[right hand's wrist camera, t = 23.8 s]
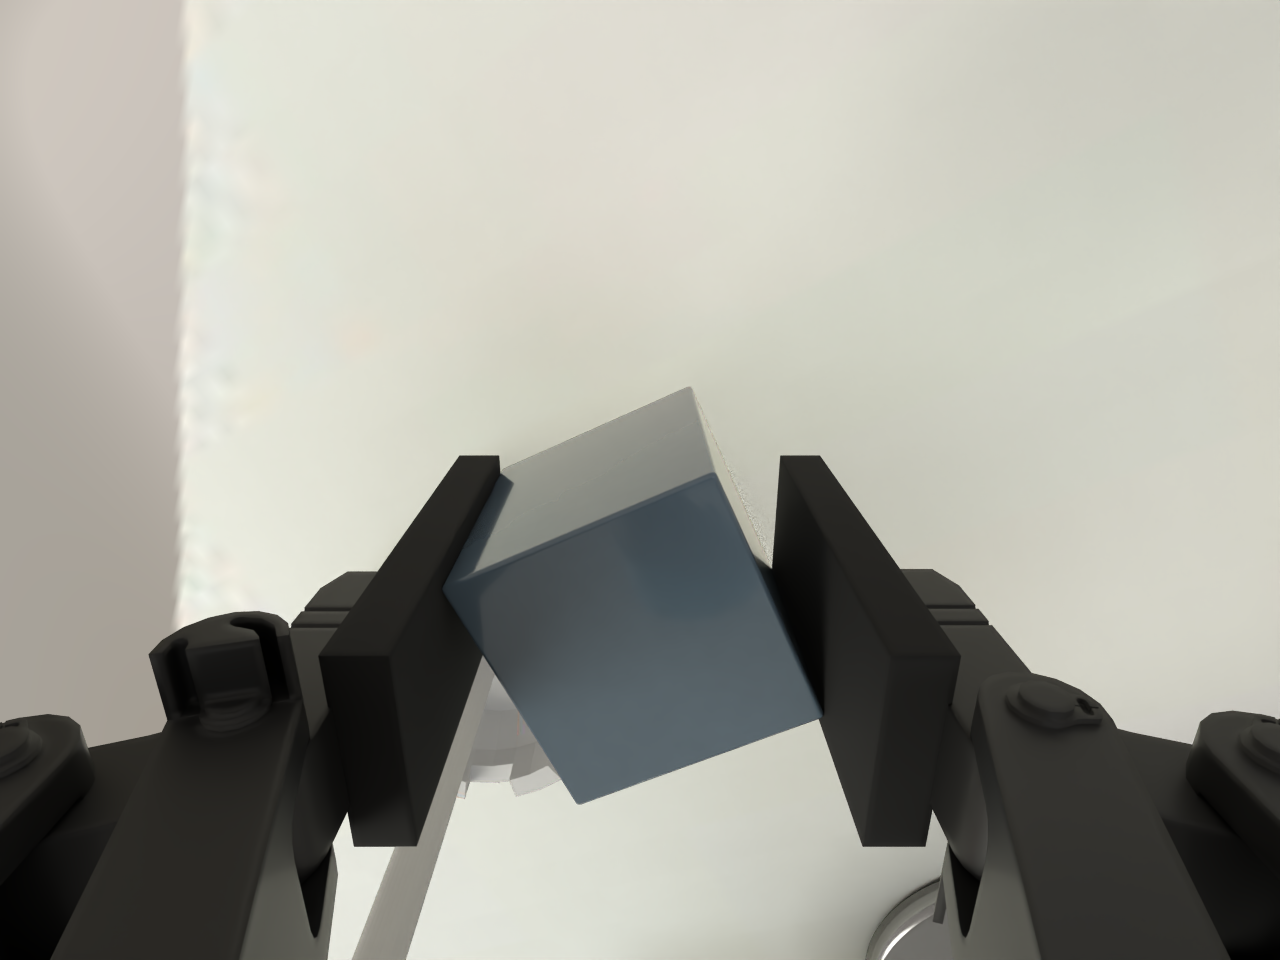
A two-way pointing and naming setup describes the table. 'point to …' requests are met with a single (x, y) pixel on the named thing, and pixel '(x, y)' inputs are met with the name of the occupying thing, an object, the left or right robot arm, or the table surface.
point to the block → (631, 603)
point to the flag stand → (479, 753)
